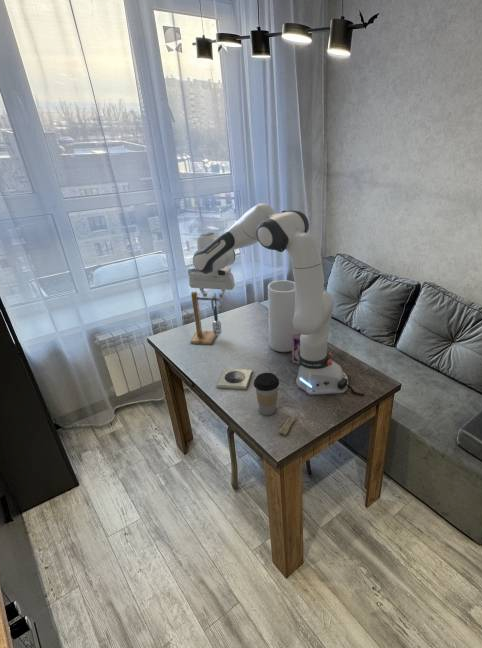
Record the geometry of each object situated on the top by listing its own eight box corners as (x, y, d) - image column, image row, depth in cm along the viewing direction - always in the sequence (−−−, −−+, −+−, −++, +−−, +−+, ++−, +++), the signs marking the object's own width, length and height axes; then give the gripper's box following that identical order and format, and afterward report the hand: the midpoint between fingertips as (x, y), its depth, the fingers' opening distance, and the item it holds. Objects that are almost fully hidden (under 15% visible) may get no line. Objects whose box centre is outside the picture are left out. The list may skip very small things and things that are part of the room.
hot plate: (251, 372, 174) (251, 369, 174) (246, 389, 164) (245, 386, 163) (224, 370, 175) (224, 367, 174) (217, 387, 164) (216, 384, 163)
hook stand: (227, 334, 201) (222, 289, 189) (221, 345, 193) (216, 298, 180) (197, 333, 202) (191, 287, 189) (191, 343, 193) (183, 296, 180)
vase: (263, 347, 193) (260, 287, 177) (281, 335, 203) (280, 277, 187) (287, 356, 187) (286, 295, 170) (304, 343, 197) (305, 284, 181)
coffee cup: (275, 420, 149) (274, 388, 141) (251, 416, 150) (249, 384, 143) (283, 404, 157) (282, 373, 149) (260, 400, 158) (258, 369, 151)
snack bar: (286, 434, 142) (278, 430, 142) (284, 437, 143) (277, 433, 143) (296, 417, 149) (289, 413, 150) (295, 420, 150) (288, 416, 151)
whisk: (223, 332, 198) (219, 293, 187) (220, 338, 193) (215, 298, 182) (215, 332, 198) (210, 292, 187) (212, 337, 193) (207, 297, 182)
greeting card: (291, 363, 182) (291, 335, 174) (298, 355, 188) (298, 327, 180) (313, 369, 178) (314, 341, 170) (320, 361, 184) (321, 333, 176)
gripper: (184, 270, 175) (189, 298, 183) (230, 272, 175) (233, 300, 182) (189, 265, 181) (193, 292, 188) (234, 267, 181) (236, 295, 188)
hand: (213, 296), depth 185 cm, fingers open, 6 cm apart
